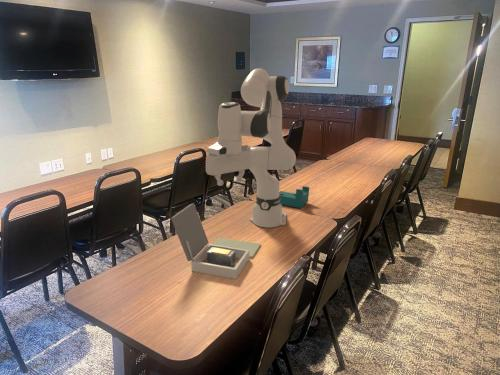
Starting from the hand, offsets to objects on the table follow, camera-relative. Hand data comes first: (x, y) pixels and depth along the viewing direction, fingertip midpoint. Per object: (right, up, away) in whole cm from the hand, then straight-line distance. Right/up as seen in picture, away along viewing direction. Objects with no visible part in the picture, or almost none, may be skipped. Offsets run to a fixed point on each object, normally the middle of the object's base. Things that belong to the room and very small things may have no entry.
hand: (230, 183), depth 135 cm
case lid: (-15, -19, +5) cm, 24 cm away
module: (-4, -32, +5) cm, 33 cm away
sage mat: (+1, -28, +19) cm, 34 cm away
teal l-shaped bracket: (+31, -11, +73) cm, 81 cm away
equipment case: (-5, -32, +5) cm, 33 cm away
